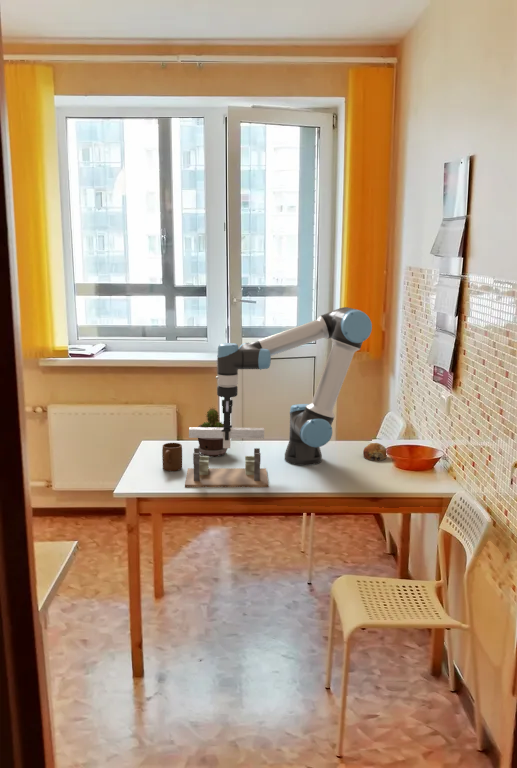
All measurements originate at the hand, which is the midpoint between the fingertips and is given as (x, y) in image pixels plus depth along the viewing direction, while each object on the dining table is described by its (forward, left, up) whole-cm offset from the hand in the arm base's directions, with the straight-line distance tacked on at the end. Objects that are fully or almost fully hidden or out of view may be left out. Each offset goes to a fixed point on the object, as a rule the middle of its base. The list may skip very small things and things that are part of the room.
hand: (226, 446), depth 249 cm
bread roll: (-61, -21, -11) cm, 66 cm away
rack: (0, +5, -11) cm, 12 cm away
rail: (0, 0, +4) cm, 4 cm away
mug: (+21, -5, -11) cm, 25 cm away
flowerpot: (+6, -26, -11) cm, 29 cm away
